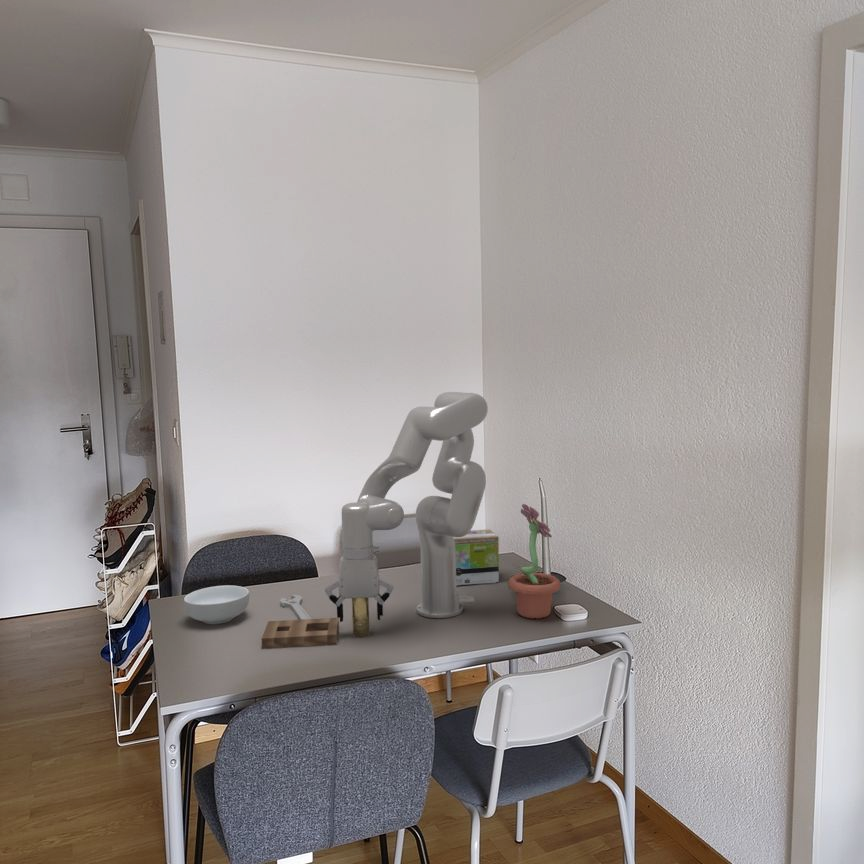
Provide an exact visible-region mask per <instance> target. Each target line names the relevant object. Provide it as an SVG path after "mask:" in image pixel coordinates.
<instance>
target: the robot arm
mask: <svg viewBox="0 0 864 864" xmlns="http://www.w3.org/2000/svg"><path fill="white" fill-rule="evenodd" d="M487 415H488V403H487V401H486V399H485V398H484V397H483V395H480V394H478V393H473V392H462V391H461V392H459V391H447V392H442V393H441V394H439V395H437V396H436V398H435V401H434V405H433V406H416V407H414V408H412V409H411V410H410V411H409V412H408V414H407V416H406V418H405V419H404V421H403V424H402V426H401V429H400V431H399V434H398V436H397V438H396V441H395V442H394V445H393V447H392V450H391V452H390V454H389V456H388V457H387V458H386V459H385V460H384V461H383V462H381V463H380V465H379V466H378V467H377V468H376V469H375V470H373V472H372V473H371V474H370V475H369V477H368V478H367V479H366V481H365V483H364V484H363V487H362V489H361V492H360V494H359V496H358V498H357V502H350V503H346V504H344V505H343V506H342V507H341V535H342V537H341V538H342V556H341V557H340V559H339V563H338V564H339V566H338V580H337V581H334V582H333V583H331V584H329V585H328V586H326V587H325V588H324V592H325V593H326V595H327V597H328V598H329V600H330V601H331V602H332V603H333V604H334V605H335V606H336V618H338V619H339V623H342V622H344V605H343V602H344V601H345V599H352V598H370V599H371V598H374V599H375V600H376V610H377V611H376V616H377V617H376V619H377V621H381V617H382V616H384V611H383V610H384V608H383V605H384V603H385V602H386V601H387V599H389V597H390V595H391V594H392V592H393V590H394V585H393V584H392V583H389V582H388V581H386V580H384V579H382V578H380V572H379V571H380V570H379V562H378V558H377V556H376V555H375V554H376V553H380V552H379V551H380V549H379V548H380V547H379V546H375V545H374V540H373V536H374V535H373V534H374V533H373V532H374V531H391V530H394V529H397V528H398V527H400V525H402V523H403V521H404V517H405V511H404V508H403V507H402V506H401V504H399V503H398V502H396V501H394V500H391V499H387V498H386V496H387V494H388V492H389V491H390V490H391V488H392V487H393V486H394V485H395V484H396V483H398V482H399V481H400V480H402V479H404V478H406V477H409V476H411V475H413V474H414V473H417V472H418V471H419V470H420V468H421V467H422V464H423V461H424V459H425V457H426V454H427V452H428V450H429V448H430V445H431V443H432V441H441V442H442V444H441V446H440V451H439V454H438V457H437V461H436V463H435V466H434V469H433V474H432V479H431V481H432V485H433V486H434V488H435V489H436V490H438V491H440V492H441V493H445V494H450V495H451V498H449V497H444V496H441V495H440V496H438V495H429V496H426V497H424V498H423V499H421V500H420V501H419V502H418V504H417V506H416V510H415V522H416V526H417V530H418V531H417V532H418V537H419V546H420V547H419V548H420V550H419V551H420V576H421V577H420V578H421V580H420V581H421V584H420V585H421V602H420V603H419V604H417V605H416V612H417V614H418V615H419V616H421V617H426V618H429V619H430V618H431V619H446V618H452V617H455V616H458V615H460V614H461V613H462V612H463V610H464V608H463V607H464V606H463V605H474V604H475V597H474V596H469V595H468V594H463V595H460V594H459V593H458V590H457V585H456V548H455V542H454V538H453V537H463V536H465V535H467V534H468V533H469V532H470V531H472V529H473V527H474V525H475V522H476V519H477V516H478V513H479V509H480V506H481V503H482V499H483V497H484V494H485V489H486V484H487V480H486V478H487V477H486V472H485V470H484V469H483V466H481V465H480V464H479V463H477V462H476V461H471V458H472V453H473V451H474V445H475V436H474V433H473V428H475V427H477V426H479V425H480V424H481V423H482V422H483V421H484V420H485V419H486V417H487ZM380 586H381V587H383V588H384V589H386V590H385V592H383V594H381V592H380V588H381V587H380ZM336 589H338V594H339V595H338V597H337V596H336V595H335V594H334V593H333V591H334V590H336Z"/></svg>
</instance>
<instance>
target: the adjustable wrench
mask: <svg viewBox="0 0 864 864" xmlns="http://www.w3.org/2000/svg"><path fill="white" fill-rule="evenodd" d="M302 603H303V597H302V596H301V595H299V594H298V595H297V594H291V595H290V599H287V598H284V597H280V607H281V608H288V609H291V610H292V611H293V612H294V615H295V616H296V618H298V619H297V620H302V619H312V617H311V616H310V615H309V614H308V613H307V611H306V610H305V609H304V608H303V607H302V605H301V604H302Z"/></svg>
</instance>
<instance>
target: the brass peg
mask: <svg viewBox="0 0 864 864" xmlns="http://www.w3.org/2000/svg"><path fill="white" fill-rule="evenodd" d="M369 604H370V602H369V598H351V609H352V610H351V611H352V612H351V613H352V615H351V616H352V635H353V636H354V637H355V638H365V637H369V636H370V634H371V632H370V631H371V630H370V627H371V625H370V605H369Z"/></svg>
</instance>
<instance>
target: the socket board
mask: <svg viewBox="0 0 864 864" xmlns="http://www.w3.org/2000/svg"><path fill="white" fill-rule="evenodd" d="M339 627H340V619H339V618H337V617H324V618H311V619H302V620H299V619H287V620H284V619H283V620H271V621H270V620H269V621H268V622H267V624H266V626H265V629H264V631H263V633H262V636H261V649H277V648H278V649H279V648H280V649H281V648H293V647H294V648H297V647H315V646H331V645H337V644H338V635H339Z"/></svg>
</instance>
